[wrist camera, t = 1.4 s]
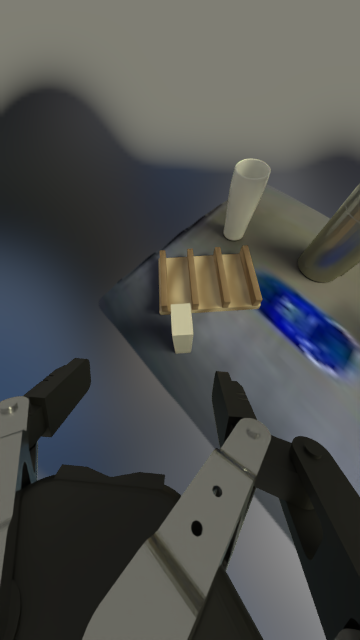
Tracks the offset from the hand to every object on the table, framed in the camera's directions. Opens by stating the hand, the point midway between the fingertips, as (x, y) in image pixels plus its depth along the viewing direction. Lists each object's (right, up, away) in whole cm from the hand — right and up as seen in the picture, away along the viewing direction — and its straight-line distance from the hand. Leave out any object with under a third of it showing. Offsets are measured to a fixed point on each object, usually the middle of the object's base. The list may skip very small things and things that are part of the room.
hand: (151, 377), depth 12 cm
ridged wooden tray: (+8, +12, +31) cm, 34 cm away
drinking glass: (+16, +26, +37) cm, 48 cm away
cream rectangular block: (+2, -1, +26) cm, 26 cm away
